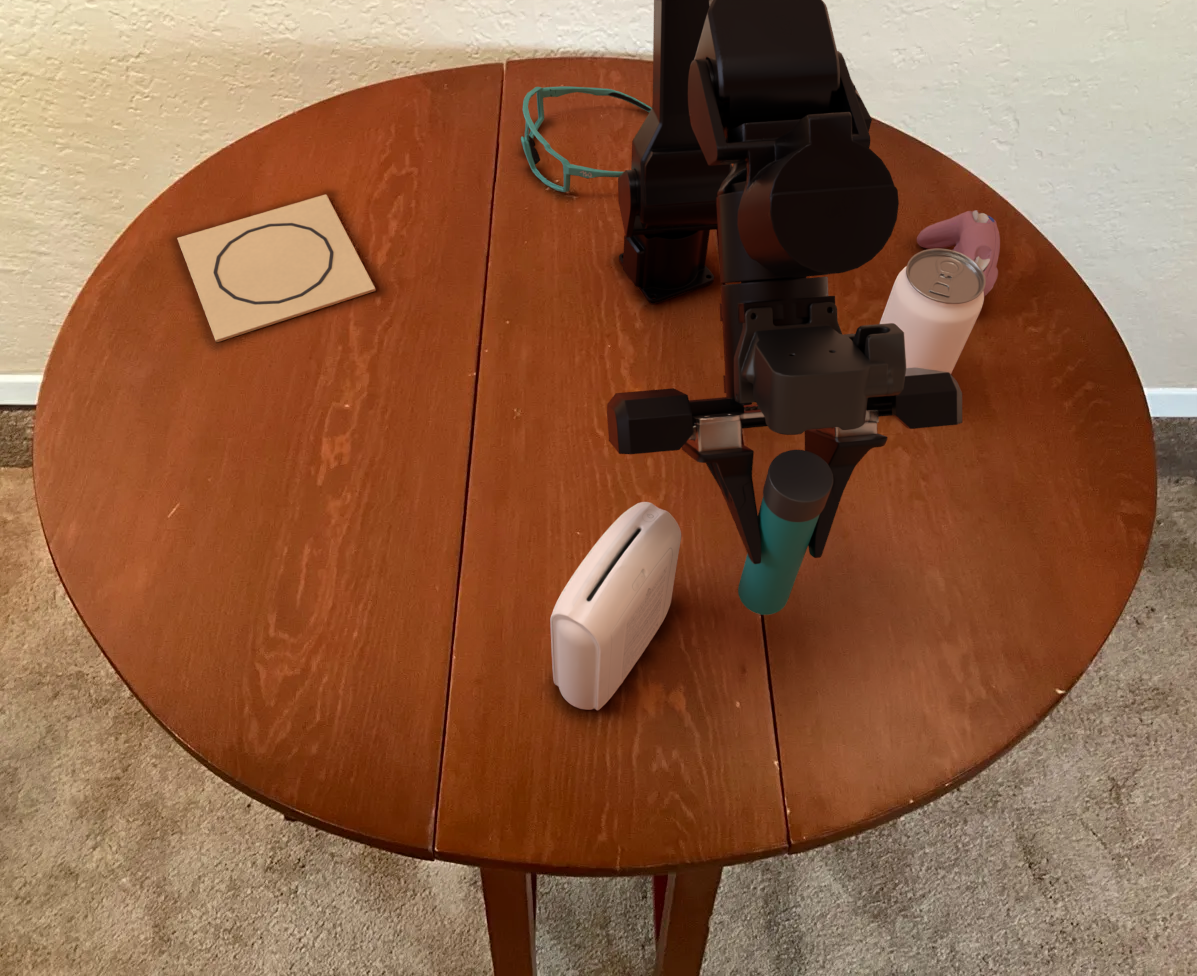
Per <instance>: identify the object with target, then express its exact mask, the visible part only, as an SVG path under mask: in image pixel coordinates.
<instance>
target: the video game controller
mask: <svg viewBox="0 0 1197 976" xmlns="http://www.w3.org/2000/svg"><path fill="white" fill-rule="evenodd" d="M916 243H917V244H918V246H919V247H921V248H923V249H926V250H927V249H936V248H940V249H947V248H953V249H952V250H953V251H956V252H959V253H962V254H964V255H966V256H968V257H969V258H971V259H972V260H973V261H975V262H976V263H977V264H978V265H979V266H980V268H981V269H982V271H983V273H984V275H985V280H986V284H985V288H984V290H983V292H984V297H986V296H987V295H988V294H989V293H990V292H991V290H992V289H994V285H995V284H996V282H997V279H998V276H999V269H998V267H997V265H998V261H999V256H1000V250H1001V249H1000V248H1001V237H1000V232H999V227H998V223H997V221H996V220H995V219H994V217H992V216H990V215H988V214H986V213H984V212H979V211H978V210H977V209H975V210H972V211H971V210H967V211H964V212H961V213H960V214H957V215H956V216H953V217H950V218H948V219H944V220H941V221H938V222H935V223H933V224H930V225H927V226H926V227H925V228H923V229H922V230H920V232H919V233H918V235H917V237H916Z"/></svg>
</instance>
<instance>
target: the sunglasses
mask: <svg viewBox="0 0 1197 976" xmlns="http://www.w3.org/2000/svg"><path fill="white" fill-rule="evenodd" d="M574 93H580V94H587V95H592V96H597V97H598V96H599V97H611V98H615V99H619V100H623V101H624V102H626V103H629V104H631V105H633V106H635V107H637V108H640V109H642V110H643V111H645V112H647V113H648V114H649V113H650V111H651V109H652V106H650V105H648V104H646V103H645V102H643V101H641V100H639V99H638V98H636V97H634V96H631V95H629V94H626V93H624V92H622V91H619V90H615V89H612V88H603V87H587V86H586V87H585V86H565V85H564V86H547V87H545V86H544V87H541V86H535V87H534V88H532V89H531V90H530V91H528V92H527V93H526V95H525V96H524V98H523V102H522V114H523V118H524V121H525V126H524V127H525V128H524V135H523V136H521V137H520V142H521V146H522V148H523V152H524V155H525V158H526V161H527V163H528V165H529V167H530V169H531V172H532V173H533V174H534V176H536V178H538V180H540V181H541V182H542V183H543V184H544V185H545V186H548V187H549V188H551V189H553V190H555V191H558V192H561V193H568V192H570V190H571V176H575V177H581V178H584V179H588V180H589V179H593V178H594V179H595V178H619V177H620V176H621V175H622V173H623V172H624V171H618V170H617V171H616V170H614V171H613V170H605V169H598V168H593V167H587V166H583V165H577V164H573V163H570V161H569V159H567V158H565V157H563V156H562V155H561V154H560V153H558V152H557V151H555V149H553V148H552V147H551V144H550V143H549V142H548V141H547V140H546V139H545V138H544V136H542V134H541V133H540V132H539V131H538V130H539V128H540V127H541V125H542V124H543V122H544V120H545V107H544V98H545V99H546V98H558V97H561V96H566V95H568V94H569V95H570V94H574ZM535 94H536V106H537V107H536V108H537V119H536V121H535V122H534V121H533V120H532V118H531V114H530V110H529V105H530V104H529V103H530V100H531V98H532V97H533V96H535ZM534 137H535V138H536V139H537V141H538V142H539V143H540V144H541V145H543V148H544V150H545V151H546V152H547V153H549V154H550V155H551V156H553V157H554V158H555V159H557V160H558V161H560V163H561V164H562V169H563V170H562V174H563V175H562V176H563V186H562V185H559V184H556V183H553V182H552V181H550V180H548V179H547V178H546V177H545V176H544V175H543V174H541V173H540V171H539V170H538V168H537V166H536V165H538V164H539V162H540V161H541V157H540V155H539V151H538V150H537V148H536V147H535V146H536V142H535V139H534Z"/></svg>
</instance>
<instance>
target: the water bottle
mask: <svg viewBox="0 0 1197 976" xmlns="http://www.w3.org/2000/svg"><path fill="white" fill-rule="evenodd" d="M767 469H768V470H767V473H766V478H765V481H764V485H763V488H762V498H761V501H760V502H761V503H760V506H759V510H758V512H757V514H758V521H759V528H760V535H761V563H760V564H754V563H753V562H752V561H751V560H750V558H749V556H748V553H747V552H746V557H745V559H744V560H745V561H744V564H743V568H742V572H741V575H740V579H739V583H738V587H737V595H738V598H739V600H740V602H741V603H742V605H743V606H744V607H745V608H746V609H747V610H749V611H750V612H753V613H754V614H757V615H761V616H769V615H773V614H777V613H779V612H781V610H783V609H784V608H785V607H786V605H787V603H788V601H789V598H790V596H791V593H792V590H793V587H794V584H795V582H796V580H797V576H798V575H799V571H800V569H801V566H802V563H803V560H804V559H805V555H806V552H807V550H808V548H809V547H808V545H809V542H810V539H811V536H812V534H813V531H814V528H815V526H816V523H817V520H818V518H819V515H820V513H821V512H822V511H823V509H824V507H825V504H826V502H827V499H828V496H829V494H830V491H831V488H832V485H833V474H832V471H831V469H830V467H829V465H828V464H827V463H826V462H825V461H824V460H823V459H822V458H821V457H819V456H818V455H816V454H814V453H812V452H809V451H805V449H790V450H786V451H783V452H781V453H779V454H777V455H776V456H775V457H774V458H773V459H772V460H771V462H770V464H769V467H768V468H767Z"/></svg>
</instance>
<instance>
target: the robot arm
mask: <svg viewBox="0 0 1197 976" xmlns="http://www.w3.org/2000/svg"><path fill="white" fill-rule="evenodd" d="M652 36H653V38H652V39H653V41H652V48H653V49H652V104H651V108H652V109H651V111H650V113H649V112H648V114H647V115H646V118H645V119H644V121H643V122H642V124H641V126H640V127H639V129H638V130H637V132H636V133H635V136H634V137H633V139H632V141H631V167H630V169H626V170H624V171H622V172H623V173H622V175H621V176H620V177H617V194H618V195H617V199H618V200H617V201H618V208H619V212H620V217H621V221H622V227H623V232H624V236H623V252H622V253H620V254H619V255H618V262H619V264H620V265H621V267H622V271H623V272H624V273H625V275H626V276H627V277H628V279H629V280H630V282H631V283H632V284H633V286H634V287H635V288H638V290H639V291H640V292H641V294H642V295H643V297H645V299H646V300H647V302H648V303H649V304H651V305H652V304H653V305H655V304H658V303H661V302H665V301H667V300H669V299H672V298H676V297H678V296H681V295H683V294H684V295H685V294H687V293H689V292H692V291H695V290H698V289H701V288H703V287H706V286H710V285H712V284H713V283H714V280H715V275H714V274H713V273H712V271H711V270H710V268H708V266H707V265H706V262H707V256H708V255H707V254H708V247H709V242H710V241H709V240H710V233H711V231H715V230H717V243H718V261H719V263H718V264H719V279H720V301H721V303H719V318H720V319H719V320H720V322H722V337H723V340H722V341H723V357H724V360H723V361H724V375H723V377H722V378H723V393H724V394H725V395H726V396H722V397H712V398H700V399H689V394H687V393H684V392H683V391H681V390H678V389H677V388H675V387H672V388H659V389H649V390H637V391H636V390H635V391H626V392H615V394H614V395H613V396H612V397H611V399H610V400H609V401H608V403H607V404H606V420H607V421H606V422H607V432H608V434H607V435H608V442H609V443H610V444H611V445H612V447H613V448H614V449H615V451H616V452H617V453H618V454H619V455H639V454H640V455H641V454H649V453H650V454H652V453H661V452H662V453H663V452H671V451H674V452H675V451H680V450H682V451H683V452H684V453H685V454H686V455H688V456H689V457H690V458H692V459H693V460H694V461H695V462H697V463H701V464H706V466H707V468H708V470H709V471H710V474H711V475H712V477H713V479H714V480H715V482H716V484H717V486H718V488H719V489H720V491H721V494H722V496H723V498H724V500H725V503H726V505H727V507H728V510H729V512H730V515H731V517H732V519H733V522H734V524H735V527H736V530H737V532H738V534H739V537H740V539H741V541H742V545H743V546H744V549H745V551H746V554H747V553H748V556H749V558H750V560H751V561H752V562H753V563H754V564H760V563H761V535H760V528H759V521H758V509H757V502H756V495H755V487H754V481H753V466H754V465H753V464H754V454H755V452H754V449H752V448H750V447H748V446H747V445H745V444H743V436H742V435H743V429H752V428H764V427H767V428H768V429H769V430H770V431H772V432H773V433H775V434H779V435H784V436H785V435H786V436H796V435H803V434H804V450H805V451H809V452H812V453H814V454H816V455H818V456H819V457H821V458H822V459H823V460H824V461H825V462H826V463H827V464H828V465H829V467H830V469H831V471H832V474H833V485H832V488H831V491H830V494H829V496H828V499H827V502H826V504H825V507H824V509H823V511H822V512H821V513H820V515H819V518H818V520H817V523H816V526H815V528H814V531H813V534H812V536H811V539H810V542H809V545H808V547H807V548H808V553H809V555H810V556H811V557H812V558H813V559H819V558H821V557H822V556H823V553H824V551H825V547H826V544H827V541H828V539H829V536H830V532H831V530H832V526H833V524H834V520H835V517H836V514H837V511H838V508H839V505H840V502H841V499H842V496H843V494H844V491H845V489H846V487H847V484H848V482H849V480H850V478H851V476H852V474H853V471H854V470H855V468H856V466H857V465H858V464H859V462H861V460H862V459H863V458H864V457H865V456H866V454H867V453H868V452H870V450H872V449H875V448H882V447H884V446H886V444H887V442H888V439H889V438H888V436H887V435H884V434H881V433H878V423H880V418H881V417H891V416H892V417H894V418H895V419H896V420H897V421H899V422H900V424H901V425H902V426H904V427H905V428H907V429H910V430H912V429H913V430H916V429H926V428H935V427H948V426H958V425H960V424H963V391H962V389H961V387H960V385H959V383H958V381H957V380H956V378H955V377H954V376H953V375H952V373H951V374H950V373H949V372H943V371H937V370H930V369H923V368H916V367H915V368H906V355H905V339H904V332H903V331H902V330H901V329H900V328H899V327H898V326H897V325H896V324H894V323H887V324H880V323H878V324H877V323H876V324H875V323H874V324H865V325H864V324H863V325H860V326H858V327H857V328H856V331H855V332H854V333H845V334H843V332H842V330H841V327H840V323H839V319H838V307H837V305H836V295H829V276H828V275H836V274H843V273H846V272H851V271H853V270H856V269H859V268H861V267H863V266H864V265H865V264H867V263H869V262H870V261H872V260H873V259H874V258H876V256H877V255H878V254H879V253H880V252H881V251H882V250H883V249H884V247H885V246H886V244H887V242H888V241H889V240H890V238H891V236H892V234H893V232H894V229H895V226H896V224H897V220H898V214H899V205H900V202H899V191H898V188H897V187H896V185H895V183H894V179H893V177H892V174H891V173H890V170H889V168H888V167H887V166H886V164H885V163H884V161H883V160H882V158H881V157H880V156H879V155H877V153H875V152H874V151H873V150H872V149H871V148H870V146H871V135H870V129H871V126H872V121H873V119H872V117H871V115H870V113H869V111H868V109H867V107H866V105H865V103H864V101H863V99H862V97H861V94H860V93H859V91H858V90H857V88H856V85H855V84H854V82H853V80H852V77H851V75H850V72H849V69H848V65H847V62H846V59H845V58H844V55H843V53H842V52H840V51H839V50H838V49H837V44H836V40H835V36H834V32H833V27H832V23H831V18H830V15H829V10H828V7H827V4H826V3H825V2H824V0H653V35H652ZM753 403H755V404H753Z"/></svg>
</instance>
